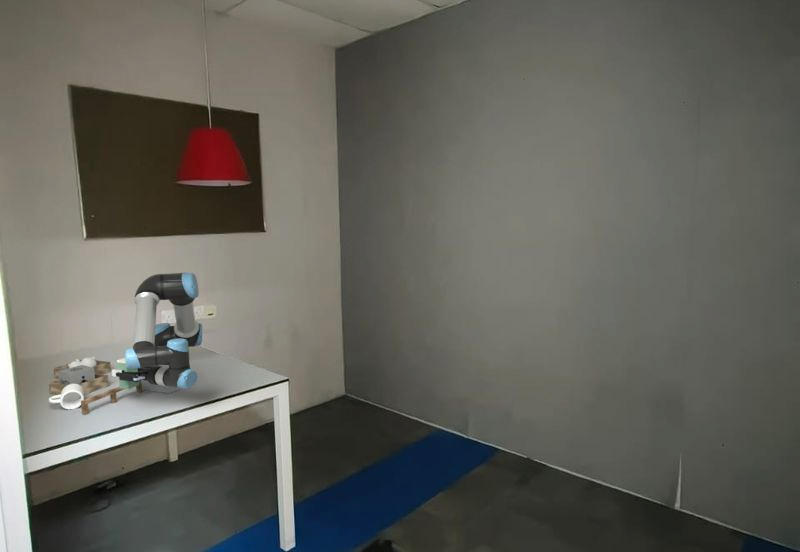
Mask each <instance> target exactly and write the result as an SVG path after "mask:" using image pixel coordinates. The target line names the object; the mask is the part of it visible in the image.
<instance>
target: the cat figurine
mask: <svg viewBox="0 0 800 552" xmlns="http://www.w3.org/2000/svg"><path fill="white" fill-rule="evenodd" d="M82 359H83V360H82ZM82 359H81V360H82V361H81V362H80V361H79V359H77V358H76V359H75V360H73V361H72V362H69V363H70V364H69V363H67V364H68V367H69V368H72V367H76V366H80V365H84V366H88V367H94V366H97V362H96V361H95V360H96V357H95V356H92V357H84V358H82Z"/></svg>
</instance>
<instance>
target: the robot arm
mask: <svg viewBox="0 0 800 552" xmlns="http://www.w3.org/2000/svg"><path fill="white" fill-rule="evenodd" d="M199 293H200V292H199V283H198V280H197V277H196V275H195V274H194V273H193V272H175V273H174V272H173V273H159V274H156V273H155V274H153V275H150V276H148V277H147V278H146V279H145V280H143V281H142V282H141V283H140V285H139V286H138V287H137V289H136V291H135V295H134V303H135V305H136V309H135V320H134V330H133V341H132V348H127V349H126V350H125V354H124V358H125V362H126V366H127V367H128V368H138V372H125V371H124V370H118V369H114V368H113V369H111V376H112V377H117V378H118V380H119V379H120V380H125V381H133V382H136V383H137V382H138V380H145V381H148V382H149V383H150V384H153V385H161V386H167V387H176V388H180V389H185V390H189V389H192V388H193V387H194V386H195V385H196V383H197V382H198V381H197V380H198V373H196V372H197V371H195V370H193V369H191V363H190V350H189V348H194V347H198V346H200V345H201V344H202V342H203V324H202V323H199V322H198V321H197V320H196V316H195V308H194V301H195V299H196V298H198V297H199V295H200V294H199ZM160 301H169V302H170V304H172V305H173V311H174V316H175V325H171V324H170V322H163V323H161V322H160V323H156V322H157V307H158V305H159V304H160ZM160 365H169V367H163V366H160ZM180 389H179V390H180Z"/></svg>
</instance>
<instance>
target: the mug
mask: <svg viewBox="0 0 800 552" xmlns="http://www.w3.org/2000/svg"><path fill="white" fill-rule="evenodd" d="M82 400H85V395H84V389H83V387H82V386H80V385H78V384H69V385H67V386H66V387H64V388H63V390H62V392H61V394H60V395H53V396H50V397H49V398H48V403H50V404H59V405H60V406H61V407H62V408H63V409H64V410H69V411H71V410H70V409H72V410H77V409H78V408H79V407H80V408H81V401H82Z"/></svg>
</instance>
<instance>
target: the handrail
mask: <svg viewBox="0 0 800 552" xmlns="http://www.w3.org/2000/svg"><path fill="white" fill-rule="evenodd" d="M124 390H126V389H121V388H120V385H119V386H117V387H115V388H112V389H109V390H106V391H104V392H102V393H99V394H96V395H94V396H93V395H92V396H91V397H88V398H84V400H82V401H81V406H80V408H81V415H84V416H86V415H88V414H90V413H89V404H92V403H93V402H95V401H98V400H101V399H104V398H106V397H110V403H111V404H115V403H117V402H118V397H117V393H119V392H121V391H124ZM135 391H136V393H137V392H140V393H142V392H143V390H142V383H141V380H139V386H137V387H135ZM141 391H142V392H141Z"/></svg>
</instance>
